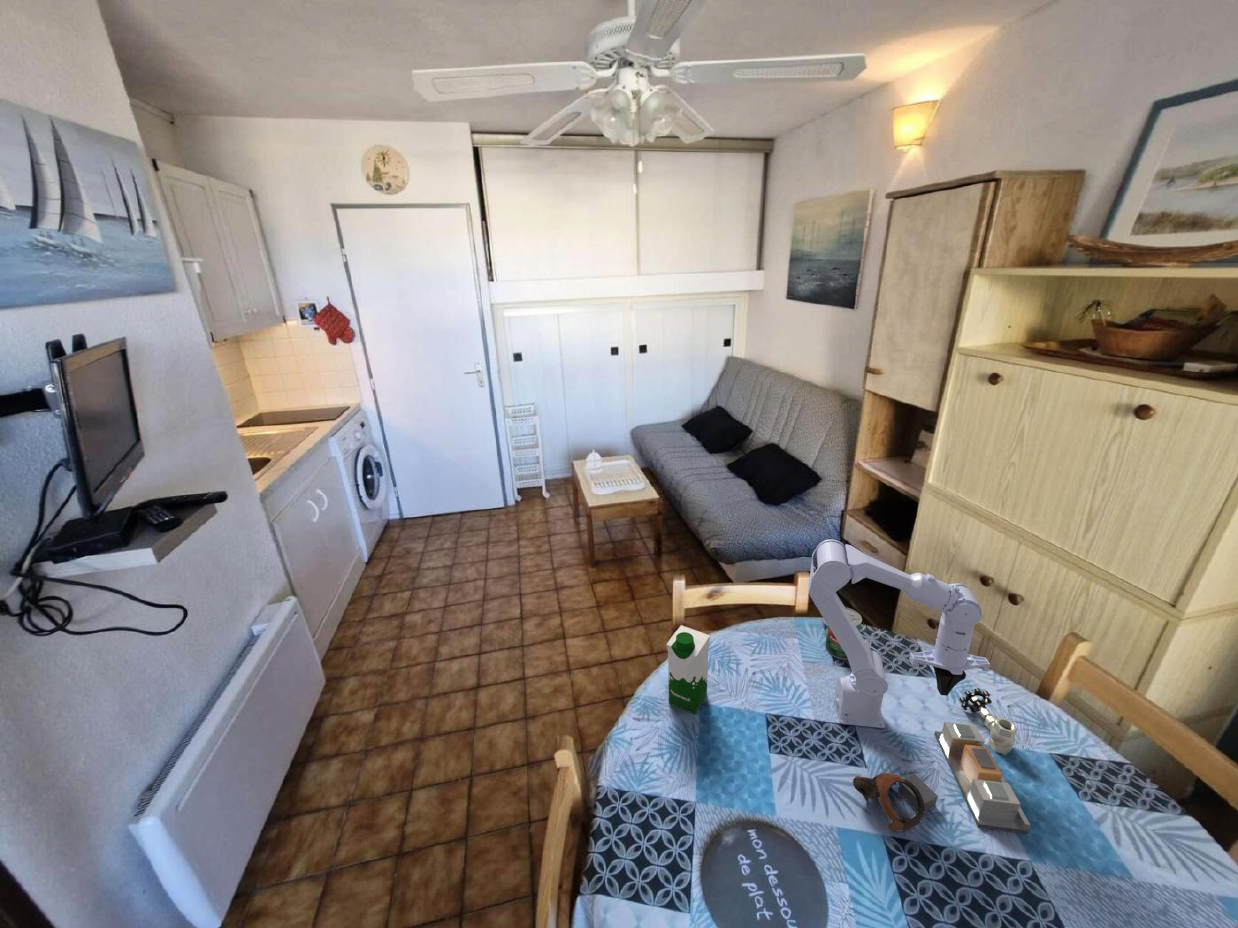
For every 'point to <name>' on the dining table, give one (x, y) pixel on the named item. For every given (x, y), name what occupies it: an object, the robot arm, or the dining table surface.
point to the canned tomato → (831, 641)
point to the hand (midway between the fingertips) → (942, 691)
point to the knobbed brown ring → (882, 786)
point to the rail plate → (981, 783)
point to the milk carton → (688, 668)
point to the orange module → (979, 764)
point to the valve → (991, 721)
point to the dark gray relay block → (925, 791)
